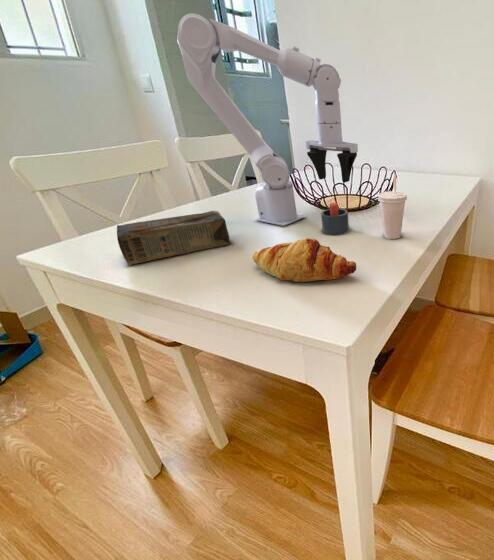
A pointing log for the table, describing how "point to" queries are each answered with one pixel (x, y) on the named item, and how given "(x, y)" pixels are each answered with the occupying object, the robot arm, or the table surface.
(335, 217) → the cup
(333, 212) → the red rectangular block
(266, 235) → the table surface
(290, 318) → the table surface
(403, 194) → the smoothie
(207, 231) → the coffee bag
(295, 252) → the croissant
